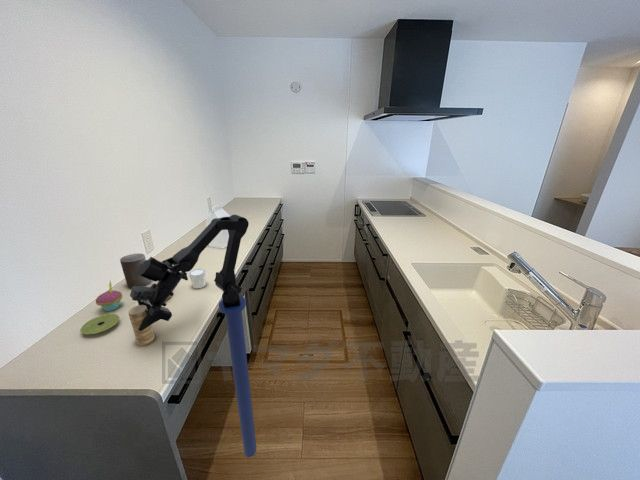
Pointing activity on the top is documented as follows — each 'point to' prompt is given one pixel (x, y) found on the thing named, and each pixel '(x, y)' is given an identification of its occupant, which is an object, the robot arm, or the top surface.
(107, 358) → the top surface
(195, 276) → the white short cylinder
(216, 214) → the milk
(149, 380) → the top surface
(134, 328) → the chip column
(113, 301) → the cupcake
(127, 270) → the pillar candle
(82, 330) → the green disc
